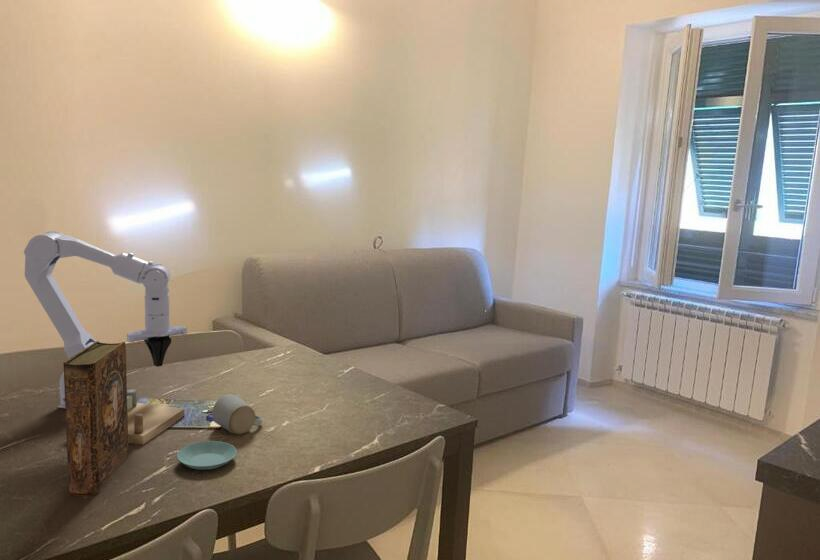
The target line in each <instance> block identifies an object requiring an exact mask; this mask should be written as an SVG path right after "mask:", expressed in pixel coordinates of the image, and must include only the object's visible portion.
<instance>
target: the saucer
mask: <svg viewBox="0 0 820 560" xmlns="http://www.w3.org/2000/svg"><path fill="white" fill-rule="evenodd" d="M237 453H238V450H237V448H236V447H235V446H234V445H233V444H231V443H228V442H225V441H224V442H223V441H217V440H216V441H215V440H208V441H207V440H206V441H198V442H193V443H191V444H188V445H186V446H184V447H181V449H180V450H179V451H178V452H177V454H176V458H177V460H178V461H179V462H180V463H182V464H183V465H184V466H186V467H188V468H190V469H194V470H198V471H210V470H216V469H217V468H220V467H223V466H224V465H227V464H228V463H229V462H231V461H232V460H233V459H234V458H235V457H236V456H237Z"/></svg>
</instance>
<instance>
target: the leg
mask: <svg viewBox="0 0 820 560" xmlns="http://www.w3.org/2000/svg"><path fill="white" fill-rule="evenodd" d="M137 397H138V395H137V390H136V389H127V410H129V409H130V408H132V407H135V406H136V405H137V403H138V402H137V400H138V399H137Z"/></svg>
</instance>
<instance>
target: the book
mask: <svg viewBox="0 0 820 560" xmlns="http://www.w3.org/2000/svg"><path fill="white" fill-rule="evenodd" d="M95 341H96V342H94V343H93V344H91V345H90V346H88V347H86V348H85V349H83V350H82V351H80V352H79V353H77V354H76V355H74V356H72V357H71V358H69V359H68V358H67V359H66V360H65V361H63V373H64V387H65V408H64V410H65V426H66V427H65V430H66V433H65V435H66V451H67V452H66V454H67V456H66V457H67V478H68V479H67V480H68V482H67V483H68V494H69V495H71V496H75V497H76V496H77V497H87V496H88V497H89V496H94V495H97V494H99V493H100V492H101V491H103V489H104V487H105V486H106V485H107V483H109V482H110V480H112V477H114V475H115V474H116V472H117V471H118V470H119V469H120V468H121V467H122V465H123V464H124V463H125V461H126V460H127V458H129V457H128V456H129V443H128V414H127V390H128V385H127V384H128V382H127V381H128V380H127V375H128V374H127V350H126V349H127V347H126V345H127V344H126V342H125V341H122V342H120V343H119V342H118V343H106V342H100V341H99V340H98V341H97V340H95Z"/></svg>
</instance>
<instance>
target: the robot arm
mask: <svg viewBox="0 0 820 560" xmlns="http://www.w3.org/2000/svg"><path fill="white" fill-rule="evenodd" d="M23 255H24V256H25V257H24V259H25V260H24V277H25V280H26V281H27V283H28V284H29V286H30V288H31V290H32V291H33V293H34V294H35V296H36V298H37V299H38V302H39V303H40V305H41V306H42V308H43V309H44V311H45V313H46V314H47V316H48V317H49V319H50V321H51V322H52V324H53V326H54V328H55V330H56V331H57V333H58V334H59V336H60V337H61V339H62V341H63V348H64V350H63V351H64V353H65V354H66V357H67V360H68V359H69V358H71V357H72V356H74V355H76V354H77V353H79V352H80V351H82V350H83V349H85V348H86V347H88V346H90V345H91V344H93V343H94V342H96V341H97V340H95V339H94V338H93V335H92V334H91V333H90V332H88V331H86V330H85V328H84V327H83V325H82V324H81V322H80V321H79V318H78V317H77V314H75V311H74V310H73V308H72V306H71V305H70V303H69V302H68V300H67V298H66V296H65V295H64V293H63V292H62V290H61V288H60V286H59V284H58V283H57V281H56V279H55V278H54V276H53V275H52V273H53V271H54V269H55V267H56V264H57V261H58V260H60V259H63V258H71V257H79V258H82V259H84V260H88V261H89V262H94V263H97V264H99V265H103V266H105V267H108V268H110V269H111V271H112V273H113V275H115V276H118V277H120V278H124V279H126V280H129V281H131V282H134V283H137V284H143V288H145V289H144V290H145V291H144V292H145V295H144V325H145V327H144V328H145V329H141V330H138V331H134V332H129V333H126V341H127V342H128V343H130V344H131V343H135V342H139V341H144V343H145V345H146V347H147V348H148V350H149V353H150V356H151V358H152V362H153V366H155V367H158V368H159V367H163V363H164V359H165V356H166V354H167V350H168V348H169V347H170V345H171V343H172V338H171V337H174V336H180V335H181V336H185V335H188V334H187V333H188V331H187V329H188V328H187V327H186V326H184V325H179V326H178V325H177V326H170V324H171V323H170V295H169V291H170V289H169V282H170V280H171V279H170V278H171V273H170V271H169V270H168V268H167V267H166V266H163V265H162V263H155V264H154V261H151V260H149V261H146V260H145V259H144V260H143V259H141V258H140V257H139V258H138V257H136V256H135V254H134V253H132V252H128V253H125V252H121V253H119V254H115V253H112V252H109V251H107V250H105V249H103V248H100V247H97V246H95V245H93V244H90V243H88V242H86V241H84V240H82V239H78V238H77V237H74V236H71V235H69V234H62V233H60V232H57V231H55V230H54V231H53V230H52V231H47V232H44V233H43V234H37V235H35V236H33V237H32V238H31V239H30V240H29V241H28V243H27V244H26V246H25V248H24V250H23ZM59 400H60V404H59V405H58V406H57V407H58V408H60V409H65V387H64V372H62V374H61V376H60V378H59Z"/></svg>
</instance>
